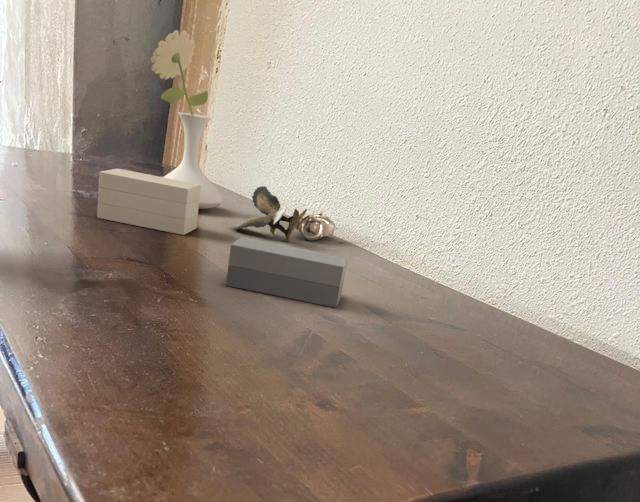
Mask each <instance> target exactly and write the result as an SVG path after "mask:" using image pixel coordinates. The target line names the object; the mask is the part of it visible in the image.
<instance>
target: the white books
mask: <svg viewBox="0 0 640 502" xmlns="http://www.w3.org/2000/svg"><path fill="white" fill-rule="evenodd" d="M198 208H199V200H196V201H194V202H191V203H189V204H182V203H176V202H171V201H166V200H161V199H156V198H151V197H146V196H141V195H136V194H131V193H126V192H121V191H115V190H110V189H105V188H100V187H99V186H98V194H97V215H96V217H97V219H101V220H106V221H111V222H117V223H121V224H126V225H131V226H137V227H142V228H145V229H151V230H156V231H161V232H166V233H172V234H176V235H181V236H185V235H186V234H188V233H190V232H193V231H194V230H196V229H197V226H198V217H199V216H198V215H199V209H198Z"/></svg>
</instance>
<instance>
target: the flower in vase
mask: <svg viewBox="0 0 640 502" xmlns="http://www.w3.org/2000/svg"><path fill="white" fill-rule="evenodd" d="M157 46H158V47H157V48H156V49H155V50H154V51H153V52H152V56H151V57H150V62H151V63H153V64H152V65H151V67H150V70H151V71H153V73H154V74H155V75H159V79H161V80H168V79H174V78H175V77H176V76H181V80H182V81H181V82H182V87H183V90H182V89H181V88H180V87H179V86H172V87H170V88H168V89H166V90H165V91H164V92H163V93H162V94H161V96H160V99H162V100H163V101H165V102H167V103H171V104H176V103H178V102H179V101H180V100H182V98H183V97H184V96H185V99H186V102H187V106H188V108H189V110H190V112H183V111H178V112H177V114H178V115H179V118H180V119H181V123H182V126H183V127H182V128H183V133H184V134H183V135H184V147H183V156H182V160H181V161H180V164H179V165H178V166H176V168H174V169H173V170H172V171H170V172H168V173H167V174H166V175H164V176H163V177H164V178H169V179H174V180H179V181H184V182H190V183H195V184H200V185H201V189H200V199H199V208H198V210H199V209H200V210H201V209H205V210H206V209H212V208H216V207H220V206H221V204H222V203H223V197H222V194H221V193H220V191H219V189H217V187H216V186H215V185H214V183H213V182H211V180H210V179H209V178H208V177H207V175H205V173H204V172H203V171H202V169H201V167H200V164H199V149H200V143H201V139H202V135H203V132H204V129H205V127H206V125H207V124H208V123H209V122H210V120H211V119H212V118H211V117H210V116H207V115H203V114H202V115H201V114H196V113H194V111H193V107H196V106H202V105H205V104H206V103H207V102H208V99H209V98H208V97H209V91H208V90H206V91H203V92H201V93H198V94H194V95H190V97H189V95H188V92H187V87H186V80H185V76H184V71H186V70H187V68H189V67H188V66H190V65H191V64H192V62H193V60H192V58H193V56H194V55H195V51H194V50H195V49H196V44H195V40H194V38H190V33H188V32H187V31H186V30H185V29H184V30H181V32H179V30H178V29H176V30H174V31H173V32H170V33H169V34H168V35H167V36H166V37H165V39H164V40H159V42H158V43H157Z"/></svg>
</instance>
